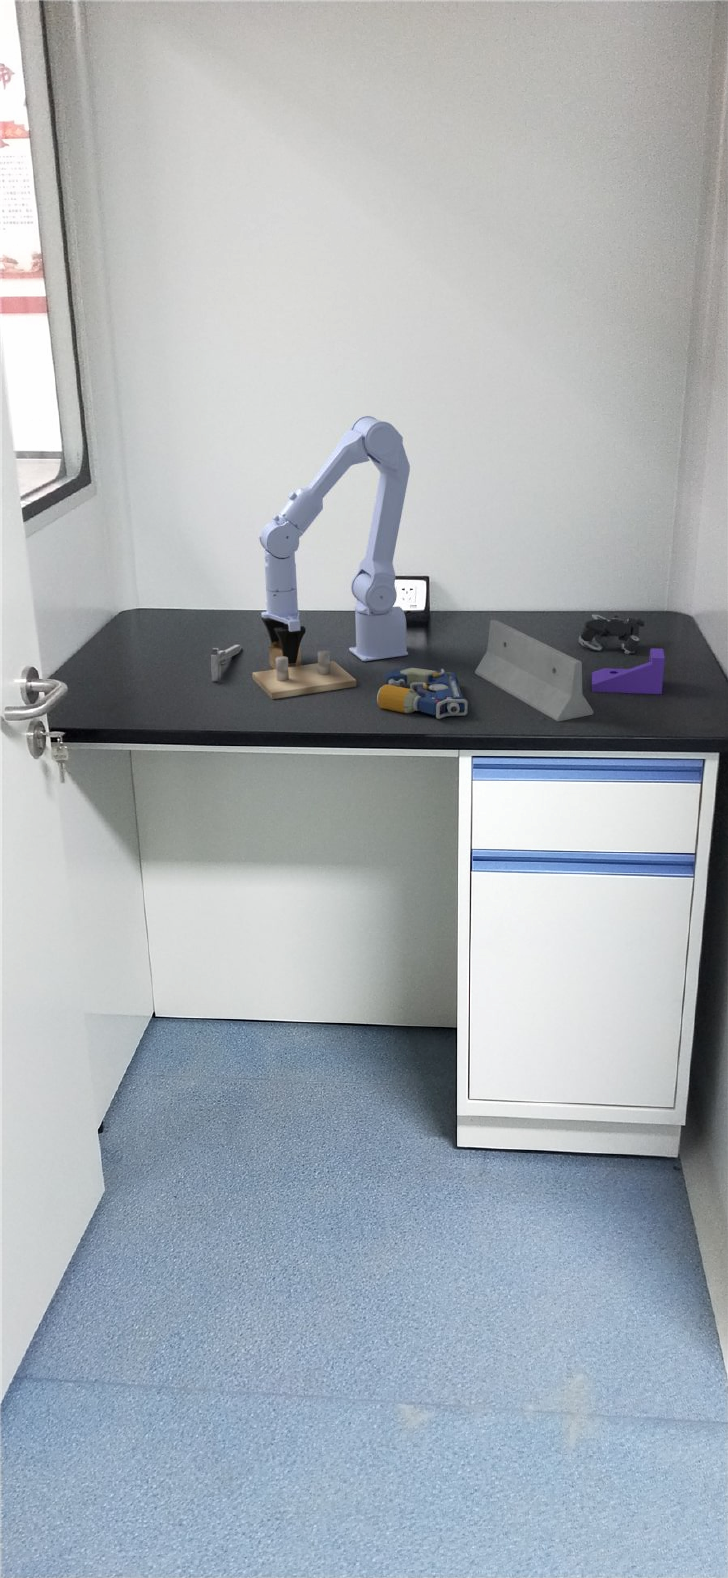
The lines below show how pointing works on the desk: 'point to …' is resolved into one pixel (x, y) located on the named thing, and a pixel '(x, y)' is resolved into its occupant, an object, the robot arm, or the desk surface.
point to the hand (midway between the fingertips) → (285, 657)
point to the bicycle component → (612, 632)
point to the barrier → (534, 673)
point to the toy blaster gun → (422, 692)
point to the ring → (276, 652)
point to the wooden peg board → (303, 677)
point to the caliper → (221, 659)
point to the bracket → (632, 677)
